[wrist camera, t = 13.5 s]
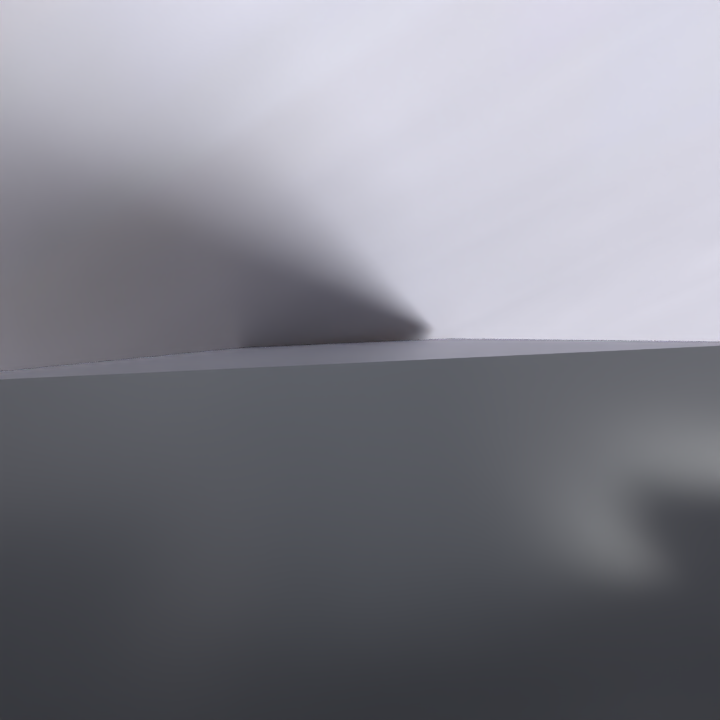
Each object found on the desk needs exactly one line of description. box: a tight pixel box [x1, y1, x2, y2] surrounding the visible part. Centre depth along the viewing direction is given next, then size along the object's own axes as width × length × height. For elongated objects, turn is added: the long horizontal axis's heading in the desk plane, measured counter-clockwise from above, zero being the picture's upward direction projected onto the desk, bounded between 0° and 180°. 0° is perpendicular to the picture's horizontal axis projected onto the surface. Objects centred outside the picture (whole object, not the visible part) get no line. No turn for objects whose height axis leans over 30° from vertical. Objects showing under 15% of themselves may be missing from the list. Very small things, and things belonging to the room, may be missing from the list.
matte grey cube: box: [0, 339, 720, 720], centre depth 7 cm, size 8×8×9 cm
